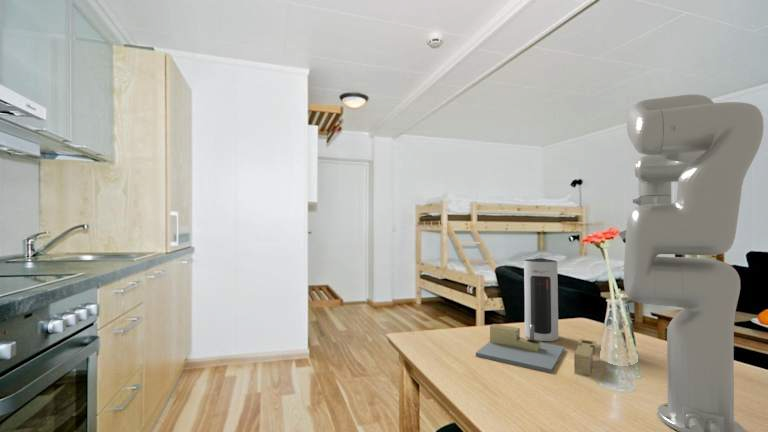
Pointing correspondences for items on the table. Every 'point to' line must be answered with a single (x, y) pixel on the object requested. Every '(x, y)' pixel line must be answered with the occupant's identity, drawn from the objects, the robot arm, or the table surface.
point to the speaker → (541, 298)
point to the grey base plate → (524, 356)
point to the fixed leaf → (513, 338)
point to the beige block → (584, 357)
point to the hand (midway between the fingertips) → (655, 262)
